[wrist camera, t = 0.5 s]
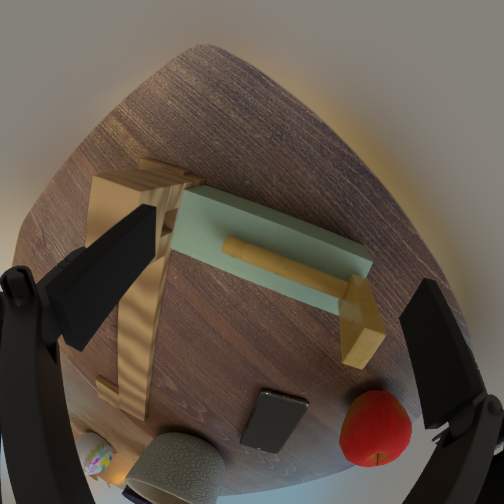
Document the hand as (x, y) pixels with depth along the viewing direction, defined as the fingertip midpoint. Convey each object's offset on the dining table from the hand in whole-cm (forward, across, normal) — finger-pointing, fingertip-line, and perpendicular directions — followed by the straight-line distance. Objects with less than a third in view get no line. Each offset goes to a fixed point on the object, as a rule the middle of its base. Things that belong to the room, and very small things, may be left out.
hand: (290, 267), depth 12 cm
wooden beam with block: (+13, -18, -26) cm, 35 cm away
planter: (+7, -5, -53) cm, 54 cm away
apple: (+10, +19, -24) cm, 32 cm away
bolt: (+10, +2, -6) cm, 12 cm away
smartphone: (+9, +7, -35) cm, 37 cm away
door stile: (+15, -1, -7) cm, 17 cm away
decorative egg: (+4, -34, -82) cm, 89 cm away
